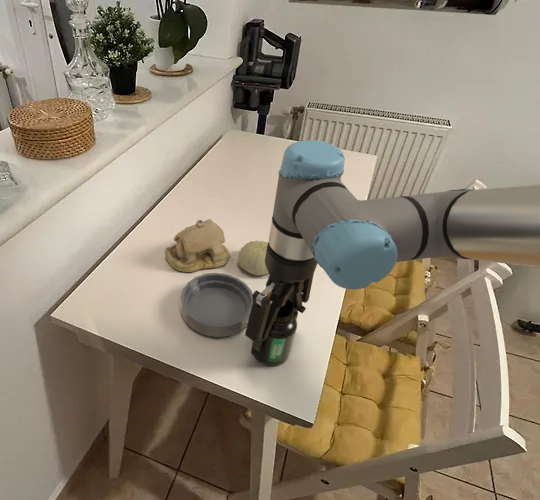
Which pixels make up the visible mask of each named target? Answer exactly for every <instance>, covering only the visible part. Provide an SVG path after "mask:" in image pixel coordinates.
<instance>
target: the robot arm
mask: <svg viewBox="0 0 540 500" xmlns="http://www.w3.org/2000/svg"><path fill="white" fill-rule="evenodd" d="M345 161H346V158H345V154H344V152H343V151H342V150H341V149H340V148H339V147H337V146H336V145H334V144H332V143H330V142H327V141H323V140H317V139H308V140H297V141H296V142H292V143H291V144H289V145H288V146H287V147H286V149H284V152H283V155H282V161H281V164H280V168H279V170H278V173H277V175H278V179H277V185H276V192H275V199H274V205H273V211H272V216H271V224H270V230H269V235H268V241H267V242H268V244H267V250H266V256H265V265H266V268H267V270H268V272H269V273H268V278H267V280H266V282H265V288H264V289H263V290H262V291H261V292H260V291H259V290H257V289H256V290H255V291H254V292H252V293H253V295H252V298H253V304H252V308H251V312H250V316H249V320H248V324H247V326H246V327H245V328H246V329H245V333H244V335H245V337H247V338H249V340H250V341H252V342H251V350H250V354H251V355H253V356H254V358H256V357H257V358H258V359H259V360H260V361H262V362H264V361H265V360H266V356H267V351H268V347H269V342H270V338H271V336H270V335H268V334H269V332H270V330H271V328H272V325H273V323H274V321H275V318H276V316H277V314H278V312H279V309H280V307H282V306H284V305H285V303H286V301H287V299H288V300H290V301H291V302H292V303H293V305H294V307H295V312H294V316H295V318H296V320H297V319H298V316H299V313H301V314H304V312H305V311H306V310H307V307H305V306H304V305H303V303H304V304H306V303H308V302H309V299H310V295H311V289H312V285H313V279H314V275H315V271H316V268H317V266H319V267H320V268H321V269H323V271H324V272H325V274H326V275H327V277H328V278H329V279H330V280H331V282H332V283H333V284H334V285H336V286H338V287H339V288H341V289H345V290H356V291H357V290H362V289H366V288H368V287H369V286H370V285H371V284H372V283H376V284H377V283H379V282H381V281H382V280H384V279H385V278H386V277H387V276H389V274H390V273H391V272H392V270H393V269H394V268H395V266H396V265H397V263H400V262H401V263H402V262H408V261H414V260H422V259H432V258H450V259H451V258H452V259H461V260H472V261H481V262H489V263H497V264H505V265H515V266H522V267H530V268H531V267H532V268H538V269H540V183H537V184H526V185H525V184H523V185H513V186H499V187H498V186H497V187H488V188H474V189H471V188H459V189H450V190H447V191H438V192H429V193H422V194H421V193H420V194H413V195H412V194H411V195H401V196H393V197H392V196H391V197H382V198H381V197H380V198H372V199H357V198H356V197H355V195H354V194H353V193H352V192H351V191H350V190H349V189H348V188H347V186H346V185H345V184H344V183H343V182H342V176H343V175H344V172H345V170H344V168H345ZM280 299H281V300H280ZM257 358H256V359H257ZM259 360H258V361H259ZM260 361H259V362H260Z"/></svg>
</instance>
